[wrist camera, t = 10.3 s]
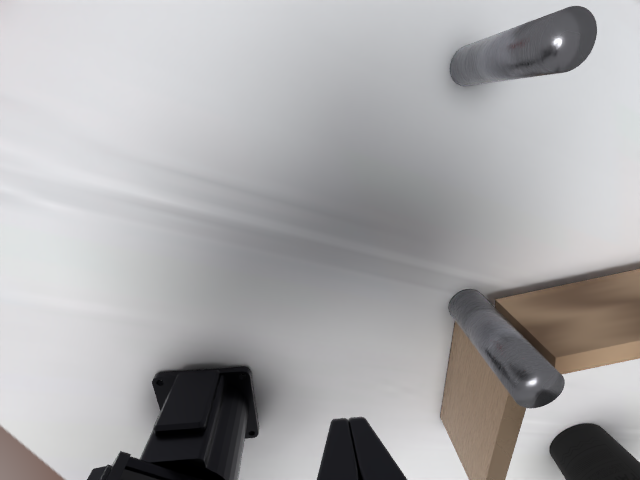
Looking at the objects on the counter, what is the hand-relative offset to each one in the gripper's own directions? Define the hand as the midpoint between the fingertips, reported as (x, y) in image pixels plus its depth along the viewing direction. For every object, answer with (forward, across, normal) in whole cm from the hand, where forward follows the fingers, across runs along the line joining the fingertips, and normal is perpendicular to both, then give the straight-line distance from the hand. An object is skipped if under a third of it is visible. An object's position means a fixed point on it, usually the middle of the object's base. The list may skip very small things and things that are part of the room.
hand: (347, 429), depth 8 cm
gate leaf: (+11, -17, +3) cm, 21 cm away
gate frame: (+12, -9, +2) cm, 15 cm away
